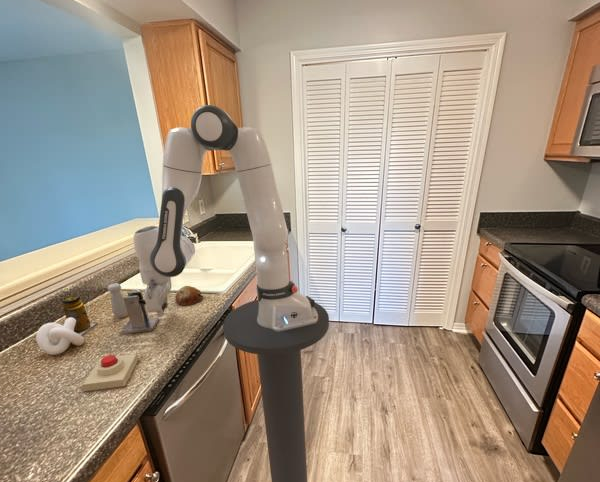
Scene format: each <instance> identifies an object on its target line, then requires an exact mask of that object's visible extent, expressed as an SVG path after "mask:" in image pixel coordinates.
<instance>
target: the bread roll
mask: <svg viewBox="0 0 600 482" xmlns="http://www.w3.org/2000/svg"><path fill="white" fill-rule="evenodd" d="M202 294H203V292H202V291H201V290H200V289H198V288H196V287H194V286H192V285H191V286H190V285H184V286H182V287H180V288H179V289H178V290H177V292H176V293H175V303H176V304H177V305H180V306H190V305H194V304H197V303H199V302H200V301H201V299H202V298H203V297H204V296H203V295H202Z"/></svg>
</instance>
